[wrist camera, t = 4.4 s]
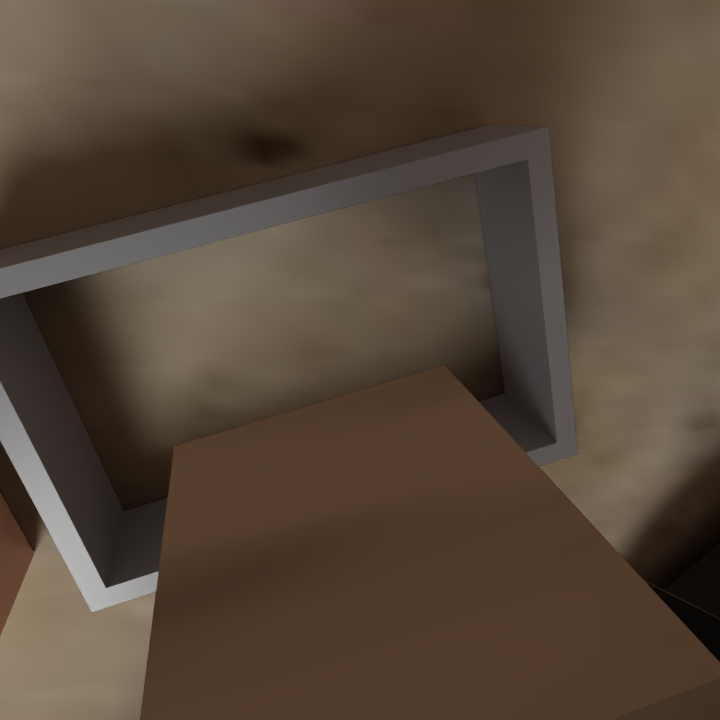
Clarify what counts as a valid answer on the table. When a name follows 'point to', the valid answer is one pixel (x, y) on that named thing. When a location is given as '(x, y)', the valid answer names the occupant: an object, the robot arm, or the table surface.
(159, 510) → the charcoal bin
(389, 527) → the walnut box
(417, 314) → the table surface
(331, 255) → the table surface
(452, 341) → the table surface
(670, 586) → the portable speaker
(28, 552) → the terracotta stand
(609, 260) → the table surface
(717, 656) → the robot arm
